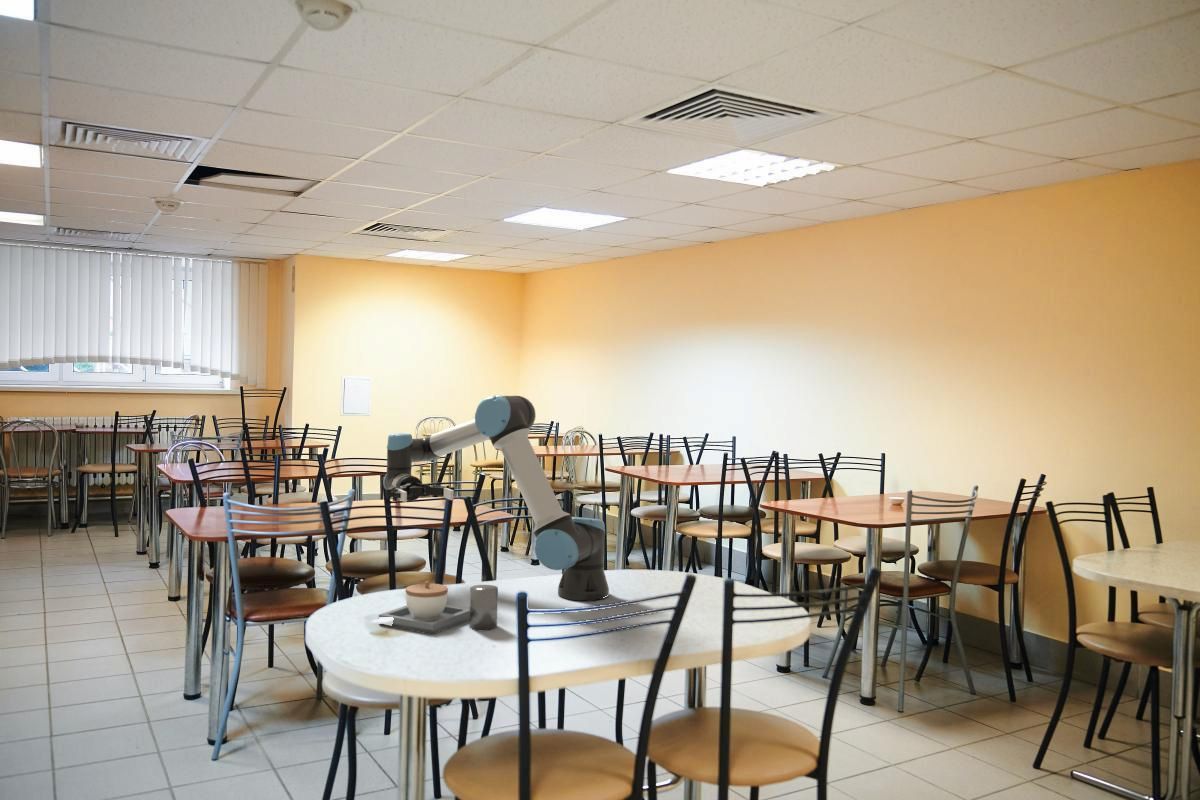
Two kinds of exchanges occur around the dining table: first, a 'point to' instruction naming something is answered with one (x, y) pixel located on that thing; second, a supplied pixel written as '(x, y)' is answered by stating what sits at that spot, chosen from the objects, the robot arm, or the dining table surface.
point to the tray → (444, 620)
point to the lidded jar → (426, 600)
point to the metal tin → (483, 607)
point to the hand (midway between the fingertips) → (429, 496)
